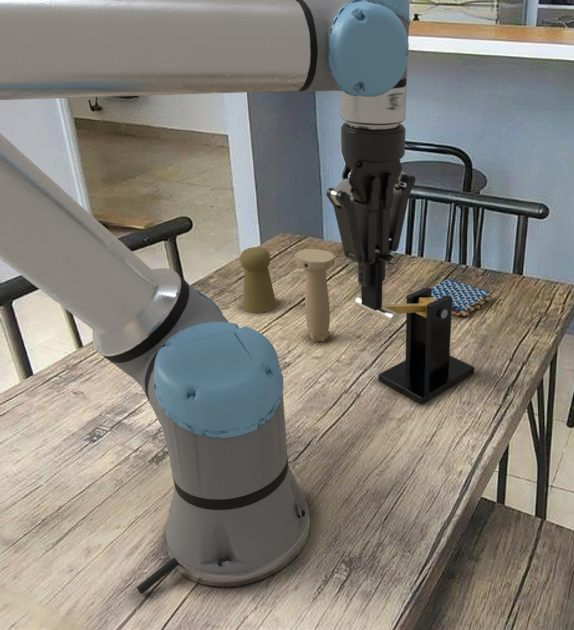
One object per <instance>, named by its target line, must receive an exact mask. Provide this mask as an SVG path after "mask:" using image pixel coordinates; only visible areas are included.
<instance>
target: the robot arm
mask: <svg viewBox="0 0 574 630" xmlns="http://www.w3.org/2000/svg"><path fill="white" fill-rule="evenodd" d="M410 26H411V19H410V0H0V101H15V100H49V99H50V100H51V99H77V98H79V99H80V98H82V99H83V98H107V97H110V98H111V97H140V96H141V97H142V96H143V97H145V96H172V95H175V96H176V95H204V94H236V93H239V94H240V93H268V92H269V93H270V92H340V118H341V119H342V120H343V121H344V123H343V124H342V125H341V126H340V147H341V148H340V151H341V152H340V153H341V154H342V156H343V158H344V163H345V164H344V168H343V171H342V174H341V178H342V180H341V182H340V183H339V184H338V185H337V186H336V187H328V188H327V190H326V193H325V195H326V197H327V199H328V200H329V202H330V203H331V205H332V206H333V210H334V214H335V218H336V223H337V224H336V225H337V228H338V231H339V236H340V240H341V245H342V250H343V254H344V256H345V258H346V259H348V260H351V261H354V262H356V263H357V283H358V284H359V285H360V288H361V289H360V296H361V304H362V305H364V306H367V307H369V308H371V309H373V310H375V311H376V310H378V309H380V308H382V304H383V282H384V281H385V279H386V265H387V264H386V263H387V262H391V261H392V260H393V257H394V256H393V255H392V254H391V253H392V252H393V253H394V252H395V253H396V252H397V251H398V249H399V246H400V243H401V237H402V233H403V232H402V231H403V226H404V222H405V217H406V213H407V209H408V208H407V207H408V205H409V204H408V203H409V199H410V195H411V192H412V190H413V188H414V186H415V184H416V177H415V176H414V175H411V174H408V173H406V172H404V171H403V165H402V162H401V159H403V157H404V156H405V155H406V127H405V126H404V125H403V124H402V123H403V122H404V121H405V120H406V119H407V118H406V117H407V116H406V115H407V114H406V113H407V84H408V83H407V80H408V79H407V78H408V63H409V62H408V61H409V54H410V49H409V47H410V43H409V32H410ZM0 261H2V262H3V263H4V264H6V265H7V266H9V267H10V268H11V269H12V270H14V271H15V272H16V273H18V274H19V275H20V276H22V277H23V278H24V279H25V280H27V281H28V282H30V283H31V284H32V285H33V286H35V287H36V288H37V289H39V290H40V291H41V292H43V293H44V294H45V295H47V296H48V297H49V298H51V300H53V301H55V302H56V303H57V304H59V306H61V307H62V308H64V309H65V310H66V311H68V312H69V313H70V314H72V315H73V316H74V317H76V318H77V319H78V320H79V321H81V322H82V323H83V324H85V325H86V326H87V327H89V329H91V330H92V346H93V349H94V350H95V352H96V353H98V354H99V355H100V356H102V357H104V358H105V359H106V360H107V361H109V362H110V363H111V364H113V365H114V366H115V367H117V368H118V369H119V370H120V371H122V372H124V373H125V374H126V375H128V376H129V377H130V378H132V379H133V380H134V381H135V382H136V383H137V384H139V386H140V387H141V388H142V390H143V392H144V394H145V397H146V398H147V400H148V402H149V404H150V406H151V408H152V410H153V412H154V414H155V417H156V419H157V421H158V423H159V424H160V426H161V429H162V432H163V435H164V438H165V439H164V440H165V444H166V448H167V453H168V459H169V465H170V470H171V474H172V475H171V476H172V479H173V485H174V490H173V493H172V499H171V503H170V507H169V512H168V517H167V520H166V524H165V528H164V538H165V539H164V540H165V545H166V549H167V555H168V557H169V560H168V561H167V562H165V563H164V564H163V565H161V566H160V567H159V568H158V569H156V570H155V571H154V572H153V573H152V574H151V575H149V576H147V578H146V579H144V580H143V581H142V582H141V583H139V584H138V585H137V586H136V589H137V591H138V592H139V593H140V595H143V594H144V593H146V592H147V591H149V590H150V589H151V587H153V586H154V585H155V584H156V583H157V582H159V581H160V580H161V579H162V578H164V577H165V576H166V575H167V574H169V573H170V572H171V571H173V570H174V569H175V570H177V571H178V572H179V573H180V574H181V575H182V576H184V577H185V578H187V579H189V580H191V581H192V582H194V583H197V584H201V585H206V586H210V587H222V588H224V587H237V586H243V585H248V584H252V583H256V582H258V581H261V580H263V579H266V578H268V577H270V576H272V575H274V574H276V573H277V572H279V571H280V570H282V569H284V568H285V567H286V566H288V565H289V564H290V563H291V562H292V561H294V560H295V558H296V557H297V556H298V555H299V554H300V552H301V551H302V549H303V548H304V546H305V544H306V542H307V540H308V537H309V533H310V530H311V529H310V527H311V520H310V507H309V502H308V501H307V498H306V496H305V494H304V493H303V490H302V489H301V487H300V485H299V483H298V481H297V479H296V477H295V476H294V474H293V472H292V470H291V468H290V467H289V466H290V465H289V457H288V456H289V455H288V442H287V428H286V417H285V415H286V414H285V403H284V402H285V401H284V375H283V373H282V368H281V365H280V361H279V356H278V353H277V351H276V349H275V347H274V345H273V344H272V342H271V341H270V339H268V338H267V337H266V336H265V335H263V334H262V333H261V332H259V331H258V330H256V329H254V328H251V327H249V326H247V325H246V326H243V327H239V325H238V324H237V323H235V322H229V320H227V318H226V317H225V316H224V314H223V312H222V310H221V309H220V308H219V306H218V305H217V304H216V302H214V301H213V300H212V298H210V297H209V296H208V295H206V294H205V293H202V292H200V291H199V290H198V289H196V288H194V287H193V286H192V285H190V283H189V282H188V281H186V279H184V278H183V277H182V276H180V274H179V273H177V272H176V271H174V270H173V269H171V268H165V267H164V268H151V267H150V266H149V265H147V263H146V262H144V261H143V260H142V259H141V258H140V257H139V256H138V255H136V254H135V253H134V252H133V251H132V250H131V249H129V247H128V246H127V245H125V244H124V243H123V242H122V241H121V240H120V239H118V237H117V236H115V234H113V233H112V232H111V231H110V230H108V229H107V228H106V227H105V226H104V225H103V224H102V223H101V222H100V221H99V220H98V219H96V218H95V216H93V215H92V214H91V213H90V212H88V210H86V209H85V208H84V207H83V206H82V205H81V204H80V203H79V202H78V201H77V200H75V199H74V198H73V197H72V196H71V195H69V193H68V192H66V191H65V190H64V189H63V188H62V187H61V186H60V185H59V184H57V182H55V181H54V180H53V179H52V178H51V177H50V176H49V175H48V174H46V173H45V171H43V170H42V169H41V168H40V167H38V165H36V164H35V163H34V162H33V161H32V160H31V159H30V158H29V157H28V156H26V154H24V153H23V152H22V151H21V150H20V149H19V148H18V147H17V146H15V145H14V144H13V143H12V142H11V141H10V140H9V139H7V137H5V136H4V135H3V134H2V133H1V132H0Z"/></svg>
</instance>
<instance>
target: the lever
mask: <svg viewBox="0 0 574 630" xmlns="http://www.w3.org/2000/svg"><path fill="white" fill-rule="evenodd" d="M436 300H437V299H434V298H432V297H421V298H419V301H418V303H416V304H407V303H387V304H384V303H382V308H380V309H378V310H376V311H375V310H373V309H371V308H369V307H367V306H364V305H362V304H361V295H360V296H357V297H356V299H355V302H354V304H355V306H356V307H357V308H360V309H363V310H364V311H367V312H369V313H371V314H373V315H375V316H377V317H379V318H381V319H383V320H385V321H387V322H389V323H391V324H396V323H397V322H398V321H399V318H400V315H399V314H406V313H417V314H419V315H421V316H423V317H425V318H427V304H429V303H431V302H434V301H436Z"/></svg>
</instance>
